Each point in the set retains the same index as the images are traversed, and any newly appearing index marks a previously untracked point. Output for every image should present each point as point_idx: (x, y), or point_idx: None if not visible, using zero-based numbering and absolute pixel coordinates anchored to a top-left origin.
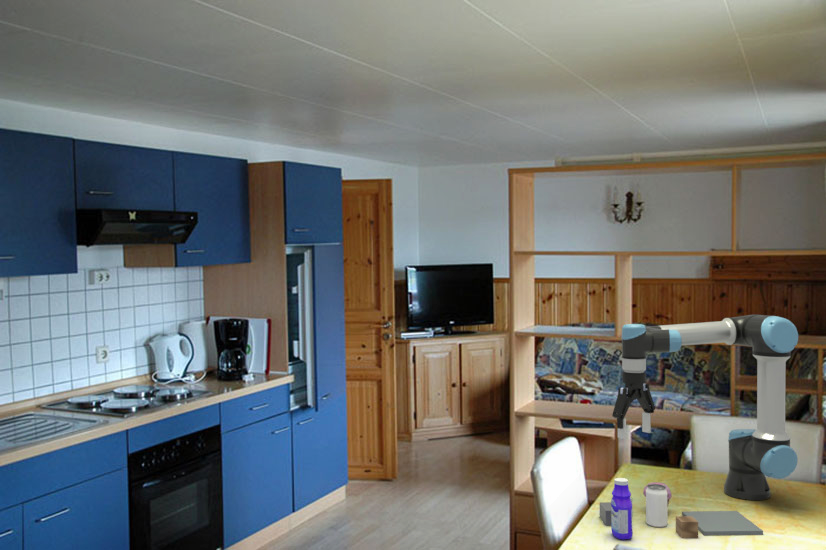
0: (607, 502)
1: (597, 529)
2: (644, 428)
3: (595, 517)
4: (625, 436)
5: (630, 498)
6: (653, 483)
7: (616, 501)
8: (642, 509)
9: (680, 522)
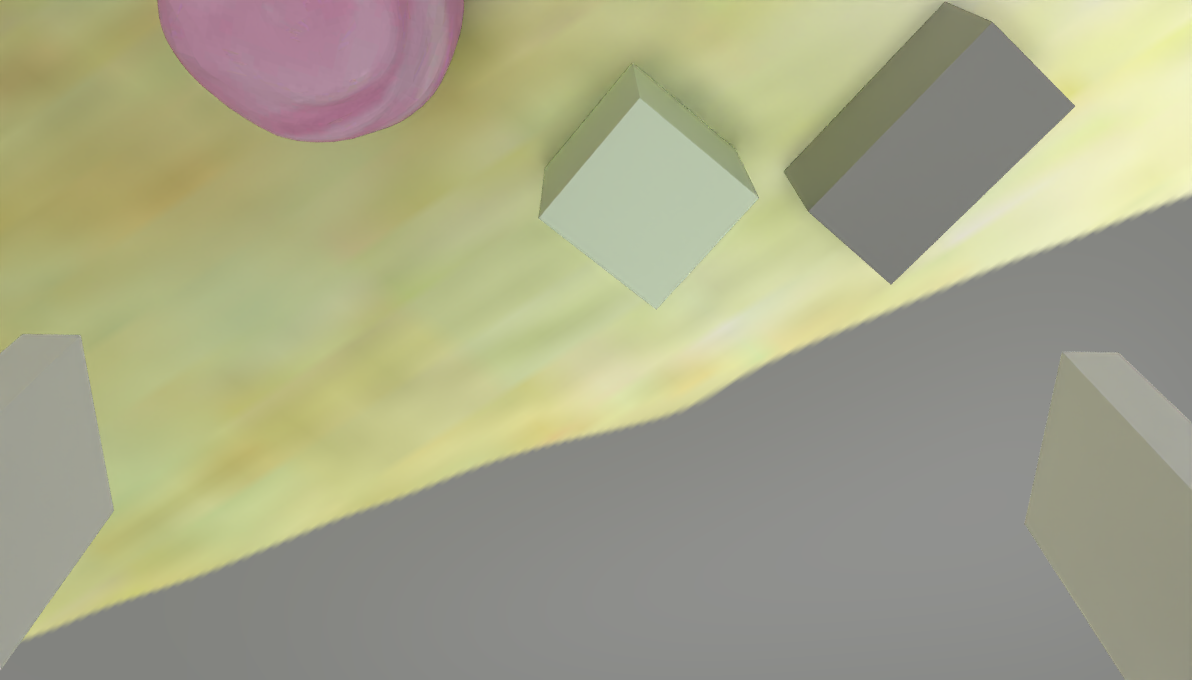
0: (840, 235)
1: (1143, 72)
2: (63, 506)
3: None
4: (1112, 381)
5: (654, 110)
6: (324, 35)
7: None
8: None
9: None
